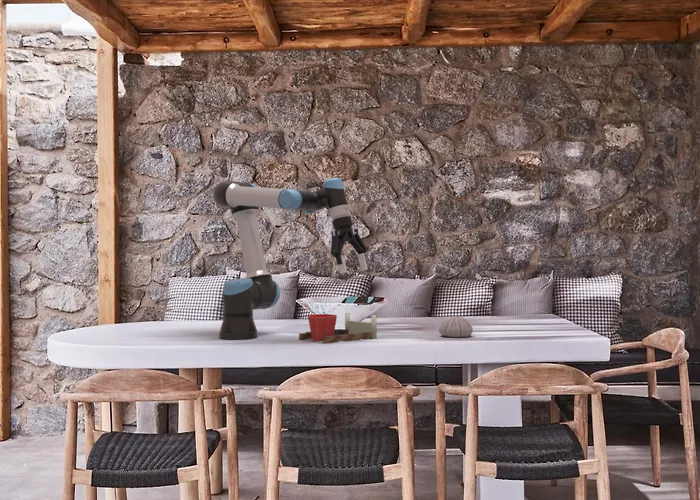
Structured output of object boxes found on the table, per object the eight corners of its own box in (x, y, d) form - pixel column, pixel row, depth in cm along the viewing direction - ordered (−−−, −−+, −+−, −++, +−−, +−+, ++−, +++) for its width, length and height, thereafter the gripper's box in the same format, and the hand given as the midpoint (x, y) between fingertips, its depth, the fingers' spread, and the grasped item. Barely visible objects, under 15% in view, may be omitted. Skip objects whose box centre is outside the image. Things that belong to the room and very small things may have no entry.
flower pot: (333, 342, 296) (333, 316, 296) (305, 342, 298) (305, 316, 298) (339, 339, 307) (339, 314, 307) (312, 338, 309) (312, 314, 309)
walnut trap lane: (324, 343, 292) (324, 336, 293) (294, 339, 308) (294, 332, 308) (375, 338, 308) (375, 331, 308) (344, 334, 323) (344, 328, 323)
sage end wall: (373, 338, 306) (373, 315, 306) (344, 335, 321) (344, 313, 321) (377, 338, 307) (377, 315, 307) (348, 334, 322) (347, 312, 322)
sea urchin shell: (463, 334, 321) (463, 314, 321) (478, 337, 308) (478, 317, 308) (433, 335, 317) (433, 315, 317) (447, 339, 304) (447, 318, 304)
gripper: (328, 215, 291) (341, 271, 289) (367, 214, 311) (380, 266, 309) (313, 221, 296) (326, 276, 293) (352, 220, 316) (365, 271, 313)
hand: (354, 271), depth 301 cm, fingers open, 13 cm apart
